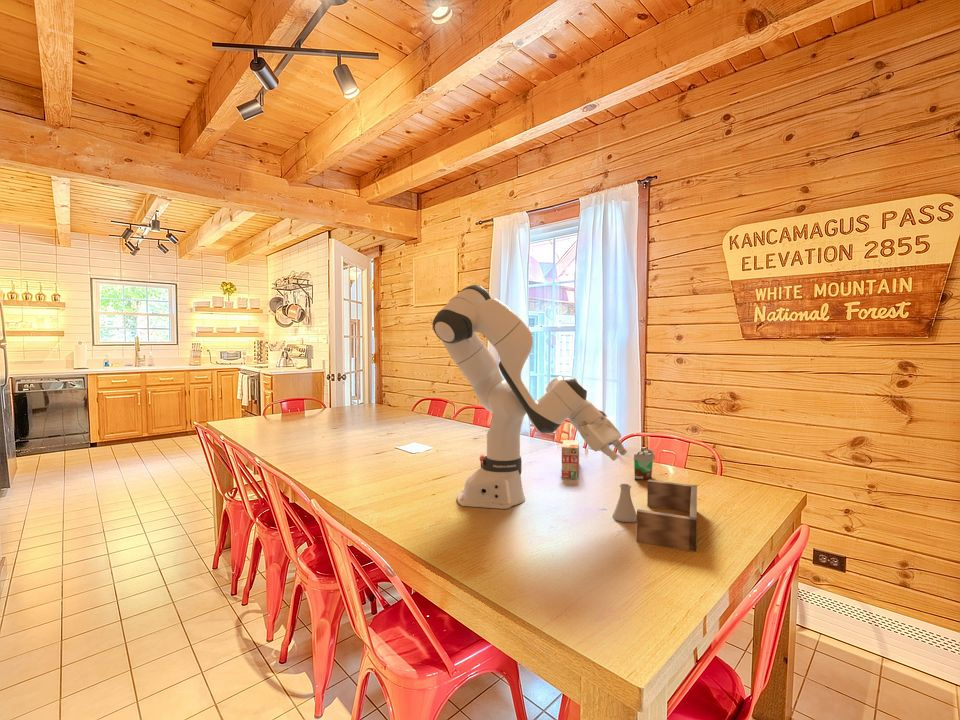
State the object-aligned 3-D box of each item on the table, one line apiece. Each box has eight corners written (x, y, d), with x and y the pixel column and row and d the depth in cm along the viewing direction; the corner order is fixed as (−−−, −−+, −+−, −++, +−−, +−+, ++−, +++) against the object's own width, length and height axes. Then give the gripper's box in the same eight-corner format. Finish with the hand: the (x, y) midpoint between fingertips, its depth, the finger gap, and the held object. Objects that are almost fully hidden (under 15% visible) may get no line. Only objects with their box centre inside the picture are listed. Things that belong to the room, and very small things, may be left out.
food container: (650, 483, 165) (651, 456, 165) (633, 481, 168) (633, 454, 168) (657, 475, 176) (657, 449, 175) (641, 472, 179) (641, 447, 178)
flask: (638, 515, 136) (638, 482, 135) (637, 524, 129) (637, 490, 129) (613, 512, 138) (613, 480, 138) (611, 521, 132) (611, 487, 131)
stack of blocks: (564, 463, 194) (564, 434, 193) (579, 464, 192) (579, 435, 192) (561, 478, 173) (561, 446, 172) (578, 479, 172) (578, 447, 171)
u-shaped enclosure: (636, 541, 118) (636, 511, 118) (647, 504, 145) (648, 479, 144) (696, 551, 112) (696, 520, 112) (696, 511, 139) (697, 485, 138)
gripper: (583, 416, 128) (618, 454, 123) (605, 411, 146) (636, 444, 140) (568, 431, 131) (602, 469, 125) (591, 424, 148) (622, 457, 142)
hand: (620, 456), depth 133 cm, fingers open, 8 cm apart
